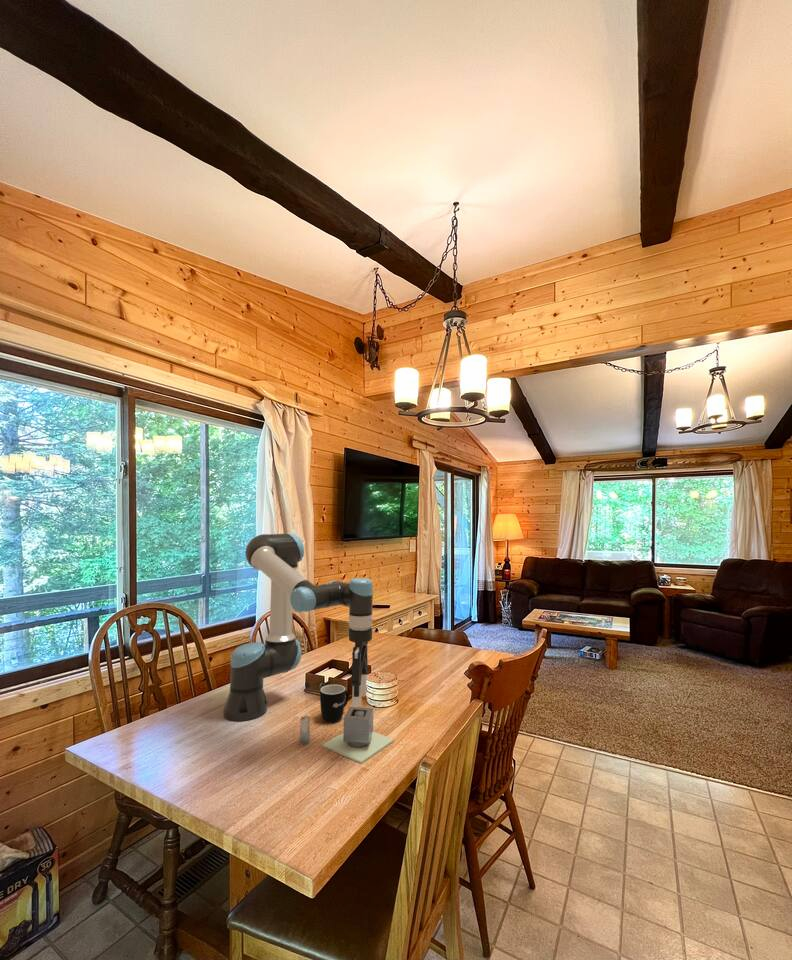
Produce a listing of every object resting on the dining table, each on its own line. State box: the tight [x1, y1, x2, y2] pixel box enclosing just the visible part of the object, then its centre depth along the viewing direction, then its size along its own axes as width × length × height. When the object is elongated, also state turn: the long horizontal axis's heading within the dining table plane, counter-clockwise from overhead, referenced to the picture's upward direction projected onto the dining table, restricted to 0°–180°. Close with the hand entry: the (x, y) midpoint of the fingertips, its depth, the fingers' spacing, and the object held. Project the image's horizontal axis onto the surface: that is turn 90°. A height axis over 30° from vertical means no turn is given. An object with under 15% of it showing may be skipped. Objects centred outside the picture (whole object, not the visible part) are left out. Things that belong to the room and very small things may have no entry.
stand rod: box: [299, 715, 311, 746], centre depth 138 cm, size 3×3×8 cm
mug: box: [319, 684, 349, 723], centre depth 156 cm, size 12×9×10 cm
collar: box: [343, 706, 374, 743], centre depth 138 cm, size 8×8×7 cm
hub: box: [322, 711, 395, 765], centre depth 138 cm, size 16×16×9 cm
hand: (359, 700), depth 139 cm, fingers open, 8 cm apart
